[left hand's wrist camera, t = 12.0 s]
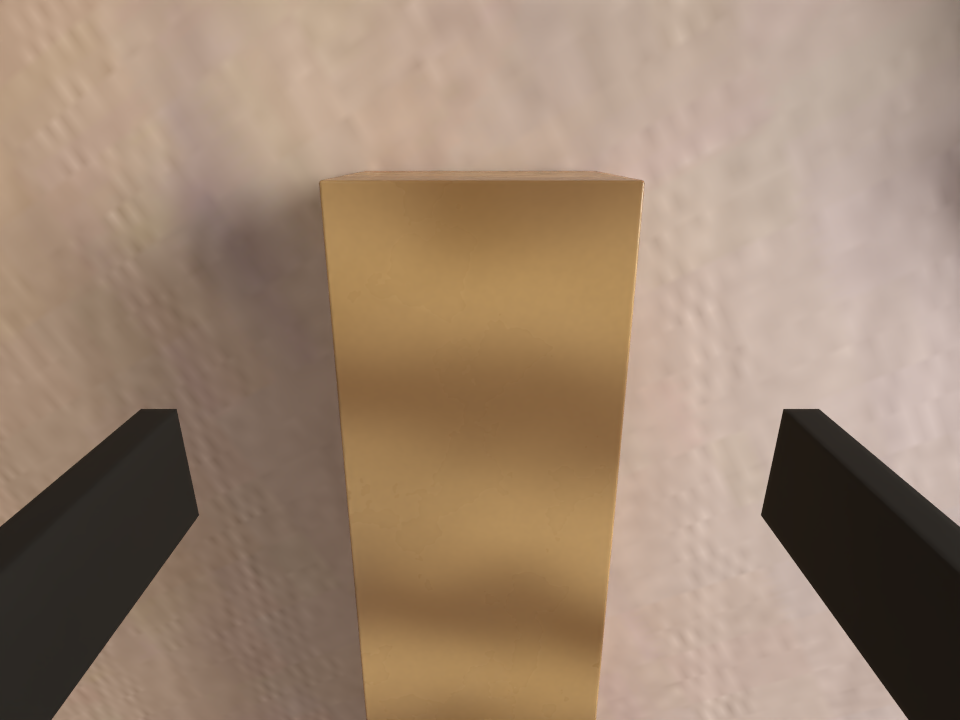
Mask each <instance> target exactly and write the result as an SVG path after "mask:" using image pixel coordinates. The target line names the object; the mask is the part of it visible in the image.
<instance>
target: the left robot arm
mask: <svg viewBox="0 0 960 720" xmlns="http://www.w3.org/2000/svg"><path fill="white" fill-rule="evenodd" d="M198 516H199V513H198V508H197V504H196V499H195V494H194V489H193V485H192V480H191V475H190V471H189V466H188V461H187V456H186V452H185V447H184V442H183V438H182V433H181V428H180V423H179V419H178V414H177V409H141V410H139V411H138V412H137V413H136V414H135V415H133V416H132V417H131V418H130V419H129V420H127V421H126V422H125V423H124V424H123V425H121V426H120V427H119V428H118V429H117V430H115V431H114V432H113V433H112V434H111V435H110V436H108V437H107V438H106V439H105V440H104V441H102V442H101V443H100V444H99V445H98V446H96V447H95V448H94V449H93V450H92V451H90V452H89V453H88V454H87V455H86V456H84V457H83V458H82V459H81V460H80V461H78V462H77V463H76V464H75V465H74V466H72V467H71V468H70V469H69V470H68V471H66V472H65V473H64V474H63V475H62V476H61V477H59V478H58V479H57V480H56V481H55V482H53V483H52V484H51V485H50V486H49V487H47V488H46V489H45V490H44V491H43V492H41V493H40V494H39V495H38V496H37V497H35V498H34V499H33V500H32V501H31V502H29V503H28V504H27V505H26V506H25V507H23V508H22V509H21V510H20V511H19V512H18V513H16V514H15V515H14V516H13V517H12V518H10V519H9V520H8V521H7V522H6V523H4V524H3V525H2V526H1V527H0V720H52V718H53V717H54V716H55V714H56V713H57V711H58V710H59V709H60V707H61V706H62V704H63V703H64V702H65V700H66V699H67V697H68V696H69V695H70V693H71V692H72V691H73V689H74V688H75V686H76V685H77V684H78V682H79V681H80V679H81V678H82V677H83V675H84V674H85V673H86V671H87V670H88V668H89V667H90V666H91V664H92V663H93V661H94V660H95V659H96V657H97V656H98V654H99V653H100V652H101V650H102V649H103V648H104V646H105V645H106V643H107V642H108V641H109V639H110V638H111V636H112V635H113V634H114V632H115V631H116V630H117V628H118V627H119V625H120V624H121V623H122V621H123V620H124V618H125V617H126V616H127V614H128V613H129V612H130V610H131V609H132V607H133V606H134V605H135V603H136V602H137V600H138V599H139V598H140V596H141V595H142V593H143V592H144V591H145V589H146V588H147V587H148V585H149V584H150V582H151V581H152V580H153V578H154V577H155V575H156V574H157V573H158V571H159V570H160V569H161V567H162V566H163V564H164V563H165V562H166V560H167V559H168V557H169V556H170V555H171V553H172V552H173V550H174V549H175V548H176V546H177V545H178V544H179V542H180V541H181V539H182V538H183V537H184V535H185V534H186V532H187V531H188V530H189V528H190V527H191V526H192V524H193V523H194V521H195V520H196V519H197V517H198ZM761 516H762V517H763V519H764V520H765V521H766V523H767V524H768V526H769V527H770V528H771V530H772V531H773V532H774V534H775V535H776V537H777V538H778V539H779V541H780V542H781V544H782V545H783V546H784V548H785V549H786V550H787V552H788V553H789V555H790V556H791V557H792V559H793V560H794V562H795V563H796V564H797V566H798V567H799V569H800V570H801V571H802V573H803V574H804V575H805V577H806V578H807V580H808V581H809V582H810V584H811V585H812V587H813V588H814V589H815V591H816V592H817V593H818V595H819V596H820V598H821V599H822V600H823V602H824V603H825V605H826V606H827V607H828V609H829V610H830V612H831V613H832V614H833V616H834V617H835V618H836V620H837V621H838V623H839V624H840V625H841V627H842V628H843V630H844V631H845V632H846V634H847V635H848V636H849V638H850V639H851V641H852V642H853V643H854V645H855V646H856V648H857V649H858V650H859V652H860V653H861V654H862V656H863V657H864V659H865V660H866V661H867V663H868V664H869V666H870V667H871V668H872V670H873V671H874V673H875V674H876V675H877V677H878V678H879V679H880V681H881V682H882V684H883V685H884V686H885V688H886V689H887V691H888V692H889V693H890V695H891V696H892V697H893V699H894V700H895V702H896V703H897V704H898V706H899V707H900V709H901V710H902V711H903V713H904V714H905V716H906V717H907V718H908V720H960V527H959V526H958V525H957V524H956V523H954V522H953V521H952V520H951V519H950V518H948V517H947V516H946V515H945V514H944V513H942V512H941V511H940V510H939V509H938V508H937V507H935V506H934V505H933V504H932V503H931V502H929V501H928V500H927V499H926V498H925V497H923V496H922V495H921V494H920V493H919V492H917V491H916V490H915V489H914V488H913V487H911V486H910V485H909V484H908V483H907V482H905V481H904V480H903V479H902V478H901V477H899V476H898V475H897V474H896V473H895V472H894V471H892V470H891V469H890V468H889V467H888V466H886V465H885V464H884V463H883V462H882V461H880V460H879V459H878V458H877V457H876V456H874V455H873V454H872V453H871V452H870V451H868V450H867V449H866V448H865V447H864V446H862V445H861V444H860V443H859V442H858V441H856V440H855V439H854V438H853V437H852V436H850V435H849V434H848V433H847V432H846V431H845V430H843V429H842V428H841V427H840V426H839V425H837V424H836V423H835V422H834V421H833V420H831V419H830V418H829V417H828V416H827V415H825V414H824V413H823V412H822V411H821V410H819V409H783V414H782V419H781V423H780V428H779V433H778V438H777V442H776V447H775V452H774V456H773V461H772V466H771V471H770V475H769V480H768V485H767V489H766V494H765V499H764V504H763V508H762V513H761Z"/></svg>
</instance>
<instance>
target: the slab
mask: <svg viewBox="0 0 960 720" xmlns="http://www.w3.org/2000/svg"><path fill="white" fill-rule="evenodd" d="M319 187H320V198H321V209H322V221H323V232H324V243H325V255H326V266H327V277H328V289H329V300H330V311H331V323H332V334H333V345H334V357H335V368H336V379H337V391H338V402H339V413H340V425H341V436H342V448H343V459H344V470H345V482H346V493H347V504H348V516H349V527H350V538H351V550H352V561H353V572H354V584H355V595H356V606H357V618H358V629H359V640H360V652H361V663H362V674H363V686H364V697H365V708H366V720H596V712H597V701H598V690H599V679H600V668H601V657H602V646H603V635H604V624H605V613H606V602H607V591H608V580H609V569H610V558H611V547H612V536H613V524H614V513H615V502H616V491H617V480H618V469H619V458H620V447H621V436H622V425H623V414H624V403H625V392H626V381H627V370H628V359H629V348H630V337H631V326H632V315H633V304H634V293H635V282H636V271H637V260H638V249H639V238H640V227H641V216H642V205H643V194H644V181H642V180H638V179H633V178H628V177H623V176H618V175H612V174H607V173H602V172H597V171H364V172H359V173H354V174H350V175H345V176H340V177H335V178H330V179H325V180H321V181H320V182H319Z"/></svg>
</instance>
